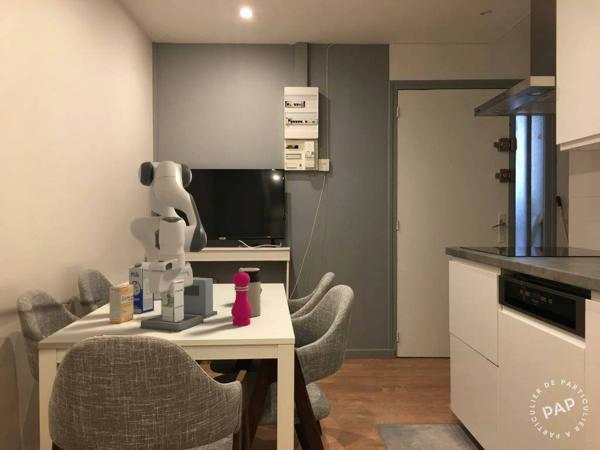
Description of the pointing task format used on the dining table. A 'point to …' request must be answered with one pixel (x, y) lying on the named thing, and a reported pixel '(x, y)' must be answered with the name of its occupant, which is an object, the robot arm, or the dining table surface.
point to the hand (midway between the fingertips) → (172, 302)
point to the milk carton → (141, 288)
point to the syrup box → (174, 303)
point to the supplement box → (121, 303)
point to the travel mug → (254, 291)
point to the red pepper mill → (241, 299)
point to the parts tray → (172, 323)
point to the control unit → (199, 298)
